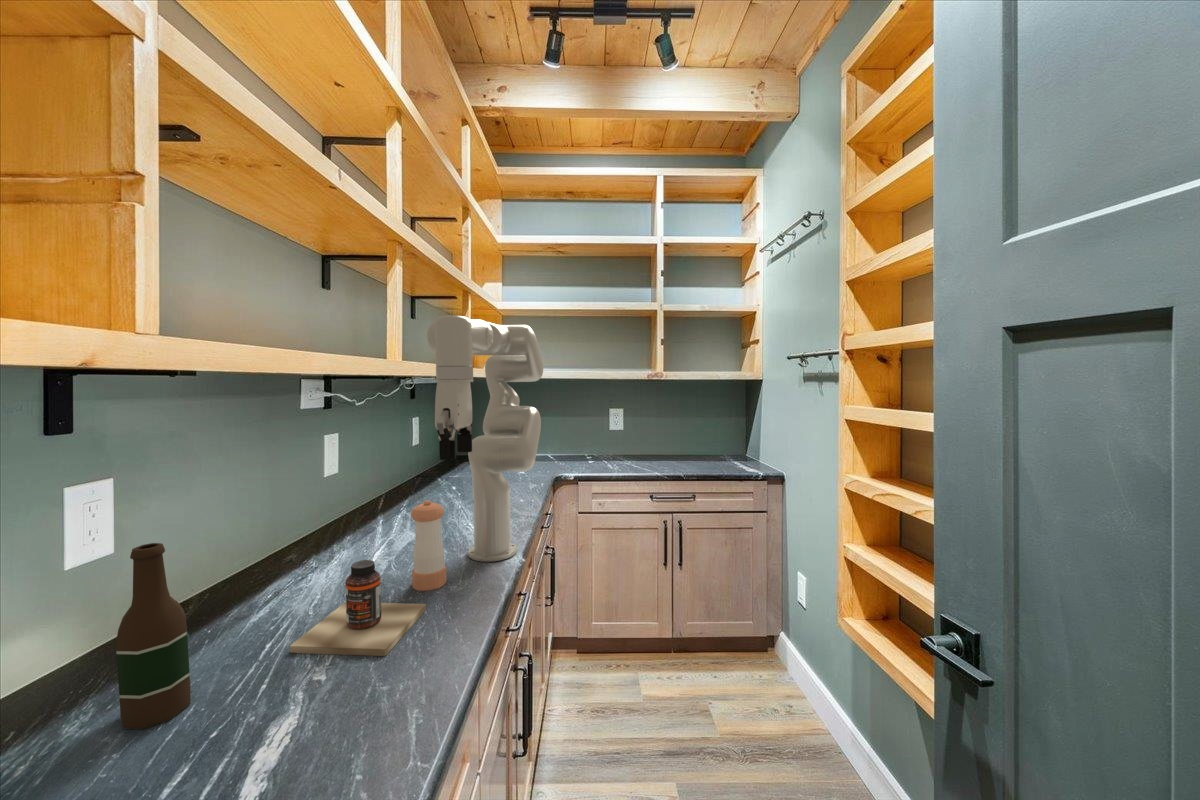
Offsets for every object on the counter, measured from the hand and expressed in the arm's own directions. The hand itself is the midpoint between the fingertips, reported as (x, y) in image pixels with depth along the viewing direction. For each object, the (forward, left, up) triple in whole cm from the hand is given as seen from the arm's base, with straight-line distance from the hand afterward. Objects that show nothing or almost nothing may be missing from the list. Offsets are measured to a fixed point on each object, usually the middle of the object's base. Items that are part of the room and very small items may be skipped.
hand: (456, 455), depth 102 cm
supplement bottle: (+15, -13, -29) cm, 35 cm away
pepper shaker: (-5, -9, -31) cm, 32 cm away
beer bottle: (+38, -30, -31) cm, 57 cm away
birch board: (+15, -13, -30) cm, 36 cm away
